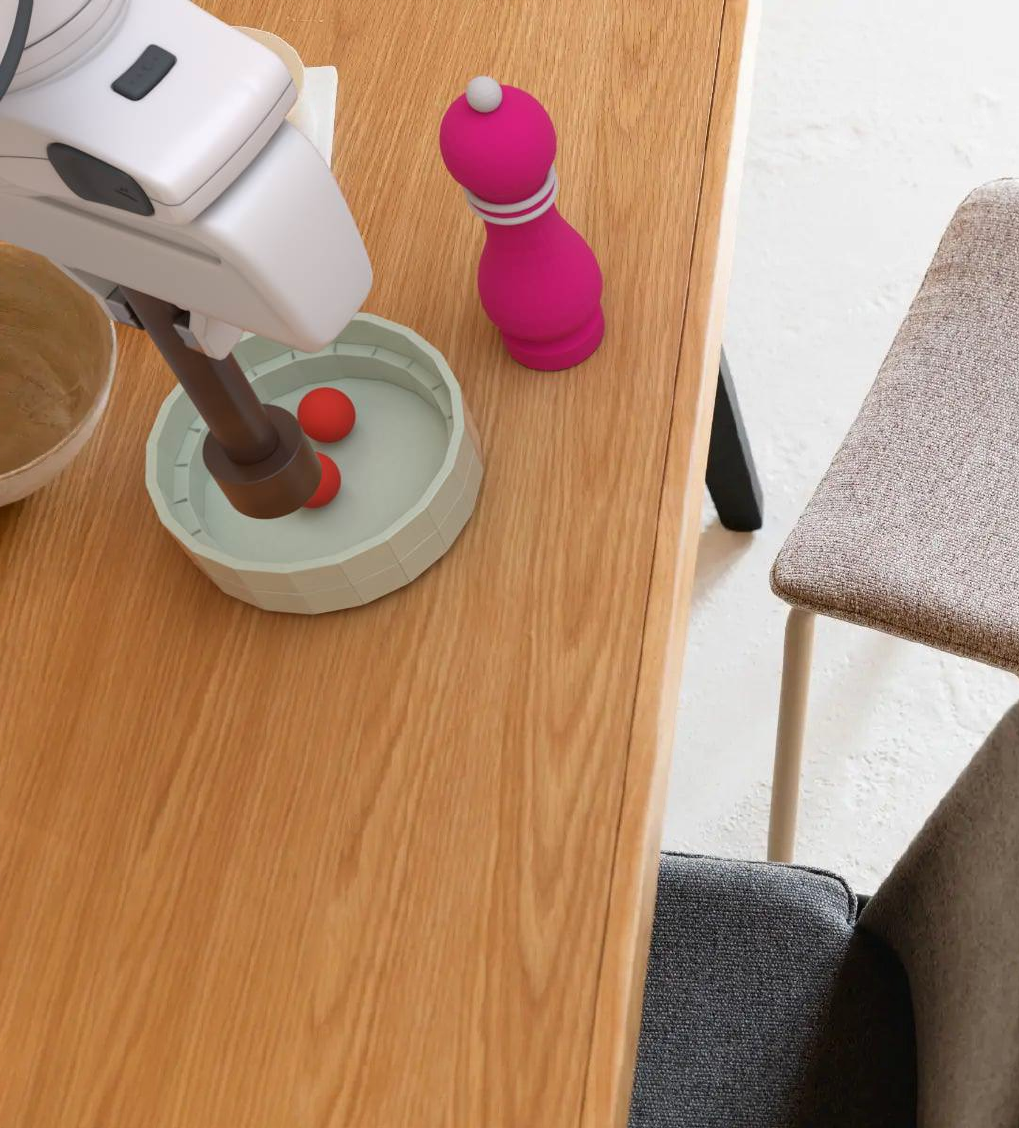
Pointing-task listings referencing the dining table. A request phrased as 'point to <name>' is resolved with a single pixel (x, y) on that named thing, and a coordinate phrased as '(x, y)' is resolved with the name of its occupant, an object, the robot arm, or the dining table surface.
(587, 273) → the pepper mill
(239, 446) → the muddler
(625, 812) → the dining table surface
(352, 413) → the ball
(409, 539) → the bowl
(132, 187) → the robot arm
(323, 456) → the ball
